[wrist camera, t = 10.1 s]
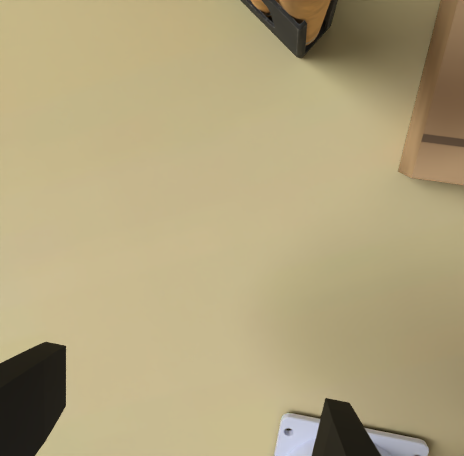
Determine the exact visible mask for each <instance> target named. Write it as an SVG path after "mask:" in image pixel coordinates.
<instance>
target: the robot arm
mask: <svg viewBox="0 0 464 456" xmlns="http://www.w3.org/2000/svg"><path fill="white" fill-rule="evenodd" d="M65 406H66V346H64V345H59V344H54V343H49V342H44V343H42V344H39V345H37V346H35V347H33V348H31V349H29V350H27V351H24V352H22V353H20V354H18V355H16V356H14V357H12V358H10V359H8V360H6V361H4V362H2V363H0V456H35V455H36V453H37V452H38V451H39V449H40V448H41V446H42V445H43V444H44V442H45V441H46V439H47V437H48V436H49V434H50V432H51V431H52V429H53V427H54V426H55V424H56V422H57V421H58V419H59V417H60V415H61V413H62V412H63V410H64V408H65ZM287 428H290V429H292V430H286V429H287ZM428 454H429V448H428V446H427V444H426V442H425V441H424V440H421V439H418V438H413V437H408V436H403V435H398V434H393V433H388V432H383V431H378V430H373V429H368V428H364V426H363V425H362V423H361V421H360V420H359V418H358V416H357V414H356V413H355V411H354V409H353V408H352V406H351V405H350V403H347V402H342V401H337V400H333V399H328V398H326V399H325V403H324V407H323V411H322V415H321V419H318V418H313V417H308V416H303V415H298V414H293V413H286V414H284V415H283V416H282V418H281V422H280V427H279V432H278V437H277V442H276V447H275V452H274V456H414V455H418V456H428Z"/></svg>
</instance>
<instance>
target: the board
mask: <svg viewBox="0 0 464 456" xmlns="http://www.w3.org/2000/svg"><path fill="white" fill-rule="evenodd" d="M398 171H399V172H401V173H403V174H405V175H407V176H409V177H411V178H417V179H424V180H431V181H438V182H445V183H452V184H459V185H464V0H441V2H440V6H439V10H438V14H437V18H436V22H435V26H434V30H433V34H432V38H431V42H430V46H429V50H428V54H427V58H426V62H425V66H424V70H423V74H422V77H421V81H420V85H419V89H418V93H417V97H416V101H415V105H414V109H413V113H412V117H411V121H410V125H409V129H408V133H407V137H406V141H405V145H404V149H403V153H402V157H401V161H400V165H399V169H398Z"/></svg>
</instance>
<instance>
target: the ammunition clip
mask: <svg viewBox="0 0 464 456" xmlns="http://www.w3.org/2000/svg"><path fill="white" fill-rule="evenodd" d="M241 1H242V2H243V3H244V4H245V5H246V6H247V7H248V8H249V9H250V10H251V11H252V12H253V13H254V14H255V15H256V16H257V17H258V18H259V19H260V20H261V21H262V22H263V23H264V24H265V26H266V27H267V28H268V29H269V30H270V31H271V32H272V33H273V34H274V35H275V36H276V37H277V38H278V39H279V40H280V41H281V42H282V43H283V44H284V45H285V46H286V47H287V48H288V49H289V50H290V51H291V52H292V53H293V54H294V55H295V56H296V57H298V58H302V57H303V56H304V55H305V54H306V53H307V52H308V51H309V49H310V48H311V47H312V46H313V45H314V44H315V43H316V42H317V40H318V39H319V38H320V37H321V36H322V35H323V34H324V33H325V32H326V30H327V29H328V28H329V27H330V26H331V22H332V19H333V15H334V12H335V8H336V5H337V1H338V0H241Z"/></svg>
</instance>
